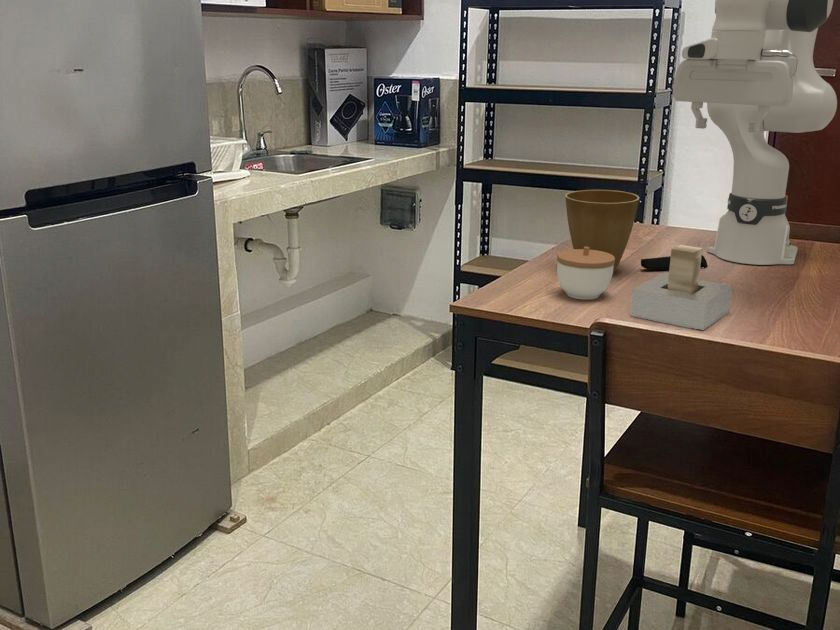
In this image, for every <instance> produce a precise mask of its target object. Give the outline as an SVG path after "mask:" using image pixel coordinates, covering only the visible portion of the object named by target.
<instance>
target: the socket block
mask: <svg viewBox="0 0 840 630" xmlns="http://www.w3.org/2000/svg"><path fill="white" fill-rule="evenodd" d="M668 278H669V274H668V273H660V274H658V275H656V276H654V277H652V278H651V279H649V280H647V281H644V282H643V283H641V284H639V285H637V286H635V287H633V288H632V295H631V304H630V305H631V307H630V317H634V318H639V319H643V320H647V319H648V320H649V321H652V320H653V321H654V322H658V323H663V324H667V325H673V326H676V327H677V326H679V327H681V328H686V329H687V328H688V329H691V328H695V329H694V330H696V329H701V330H704V329H705V328H707V327H708V326H709V327H711V326H712V325H714V324H715V323H717V322H718V321H719V320H720V319H722V318H723V317H724V316H726V315H727V314H728V313H729V311H730V305H731V295H732V289H733V288H732V287H733V285H731V284H723V283H719V282H718V283H717V282H712V281H706V280H702V279H701V280H700V279H699V283H698V291H697V292H696V293H694V294H690V293H685V292H679V291H674V290H669V289H667V288H668ZM713 323H714V324H713ZM711 324H712V325H711ZM710 325H711V326H710ZM709 327H708V328H709ZM708 328H707V329H708ZM701 330H700V331H701ZM705 330H706V329H705ZM705 330H704V331H705Z"/></svg>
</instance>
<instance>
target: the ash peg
mask: <svg viewBox="0 0 840 630" xmlns="http://www.w3.org/2000/svg"><path fill="white" fill-rule="evenodd" d="M702 255H703V247H697V246H692V245H691V246H690V245H684V244H679V245H677V246H675V247H673V248H671V250H670V256H671V258H670V268H669V270H668V275H669V278H668V288H667V289H669V290H674V291H679V292H685V293H690V294H694V293H696V292H697V291H698V283H699V280H700V272H701V267H700V265H701V256H702Z"/></svg>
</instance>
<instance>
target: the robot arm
mask: <svg viewBox="0 0 840 630" xmlns="http://www.w3.org/2000/svg"><path fill="white" fill-rule="evenodd" d="M833 3H834V0H715V1H714V13H715V20H714V23H713V25H712V29H711V37H710V38H708V39H705V40H701V41H698V42H696V43H693V44H688V45H686V46H684V47H683V48H682V50H681V51H682V52H681V56H682V58H683V60H682V61H681V62H680V63H679V65H677V68H676V72H675V76H674V80H673V88H672V97H673V98H674V100H675V101H676V102H686V103H687V102H688V103H691V105H690V108H691V109H690V110H691V111H692V113H693V116H694V117H695V129H700V130H701V129H706V128H707V127H708V125H707V124H708V118H707V117H703V114H702V111H701V109H703V108H704V107H703V106H704V103H706V110H707V114H708V116H709V118H710V120H711V122H712V123H713V124H714V125H715V126H716V127H717V128H719V129H720V130H721V132H722V133H723V134H724V135H725V137H726V139H727V141H728V143H729V145H730V148H731V151H732V155H733V157H732V158H733V169H732V170H733V174H732V185H731V192H730V193H729V194H728V198H727V207H726V209H727V212H726V213H725V214H723V215H722V216H720V218H719V221H718V226H717V230H716V236H715V241H714V245H712V246H708V247H707V253H711V254H713V255H715V256H716V257H718V258H720V259H722V260H725V261H728V262H732V263H733V262H734V263H739V264H747V265H756V266H757V265H760V266H766V265H767V266H769V265H770V266H771V265H794V264H795V261H796V257H797V254H798V246H795V245H792V244H791V243H792V241H791V240H789V239H790V230H791V227H790V224H789V221H788V219H787V216H786V213H787V206H788V199H789V197H788V195H787V194H786V193H787V192H786V191H787V186H788V185H787V184H788V178H789V170H790V163H789V159H788V157H786V155H785V154H784V153H783V152H781V151H780V150H778V149H776V148H774V147H773V146H771V145H769V143H768V142H767V140H766V139H765V132H767V131H768V132H777V133H779V132H780V133H793V134H794V133H795V134H797V133H799V134H800V133H801V134H802V133H807V132H808V133H809V132H815V131H822V130H823V129H824V128H825V129H826V127H827V126H828V125H829V124H830V122H831V121H832V120H833V118H834V117H835V115H836V112H837V107H838V98H837V94H836V91H835V89H834V88H833V87H832V85H831V84H830V83H829V82H827V81H826V80H824V78H822V77H821V75H820V74H819V73H818V72H817V70H816V67H815V64H814V57H813V56H814V49H815V43H816V39H817V35H818V30H819V28H820V27H821V26H822V25H823V24H824V23H826V22H827V20H828V18H829V16H830V15H831V12H832V9H833Z"/></svg>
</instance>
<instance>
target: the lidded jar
mask: <svg viewBox="0 0 840 630" xmlns="http://www.w3.org/2000/svg"><path fill="white" fill-rule="evenodd" d="M556 262H557V263H556V273H557V274H556V275H557V281H558V283H559V286H560V288H562V290H563V291H564V292H565V293H566V296H568V297H570V298H572V299H575V300H586V301H588V300H597V299H598V298H600V295H602V294H603V293H604V292H605V291H606V290H607V289H608V287H609V286H610V284H611V282H612V278H613V274H614V273H613V268H614V263H615V257H614V256H613V255H611V254H609V253H606V252H603V251H597V250H589V247H584V249H573V248H572V249H566V250H562V251H560V252H558V253H557V256H556Z"/></svg>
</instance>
